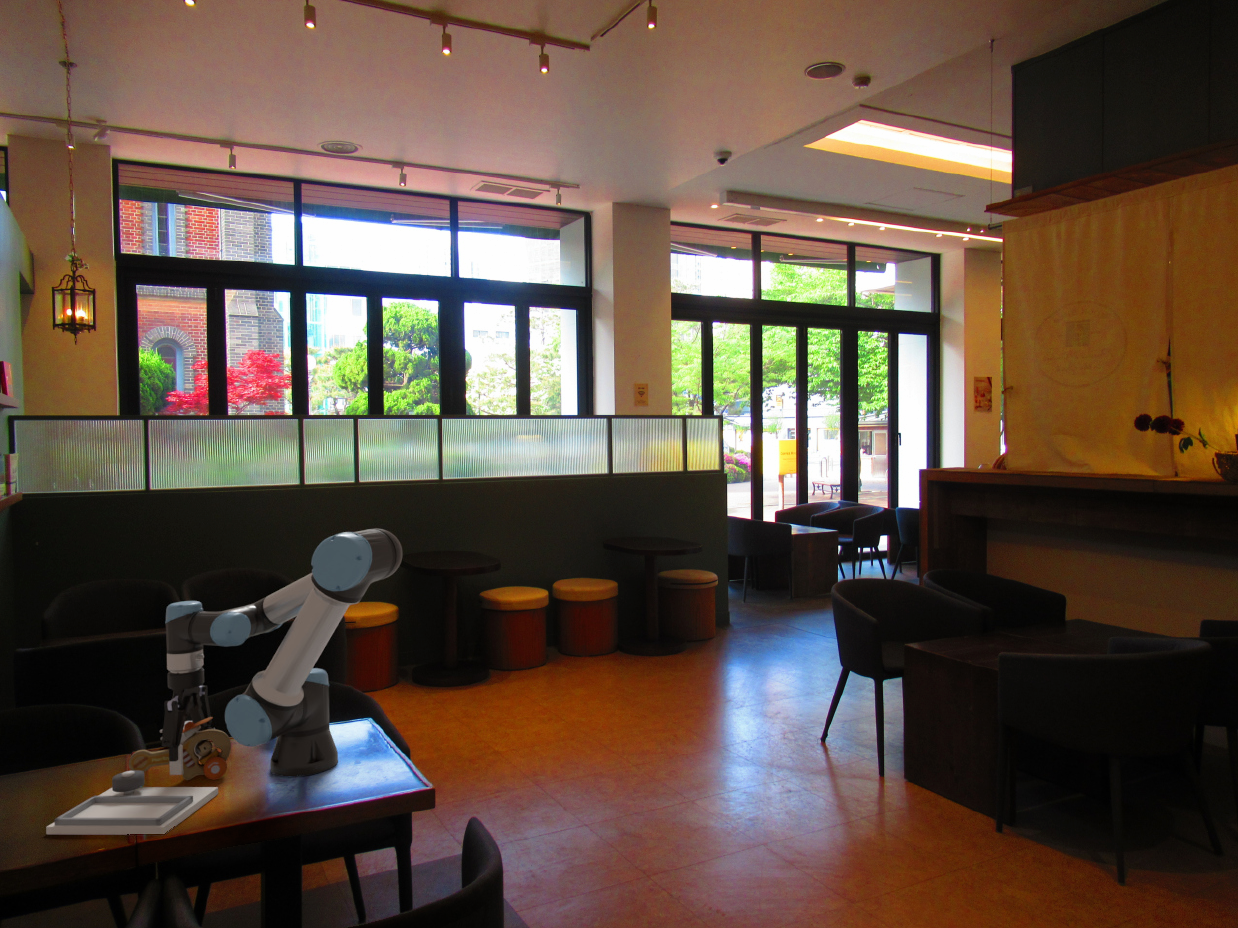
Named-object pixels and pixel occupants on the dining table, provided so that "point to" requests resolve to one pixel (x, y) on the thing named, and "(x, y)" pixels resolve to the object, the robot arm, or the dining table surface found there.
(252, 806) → the dining table surface
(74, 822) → the board
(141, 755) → the toy helicopter
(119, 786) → the wheel
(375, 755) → the dining table surface
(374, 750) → the dining table surface
